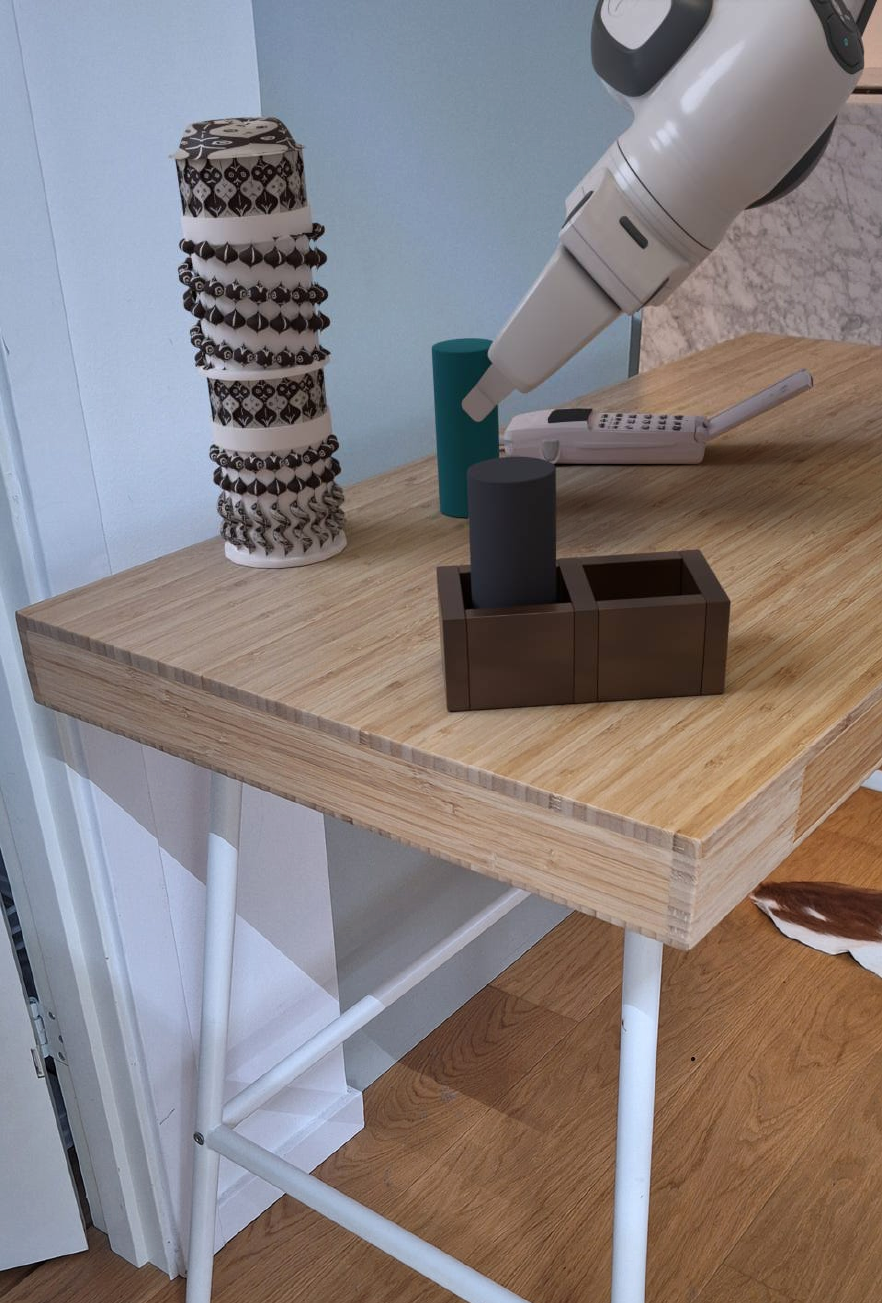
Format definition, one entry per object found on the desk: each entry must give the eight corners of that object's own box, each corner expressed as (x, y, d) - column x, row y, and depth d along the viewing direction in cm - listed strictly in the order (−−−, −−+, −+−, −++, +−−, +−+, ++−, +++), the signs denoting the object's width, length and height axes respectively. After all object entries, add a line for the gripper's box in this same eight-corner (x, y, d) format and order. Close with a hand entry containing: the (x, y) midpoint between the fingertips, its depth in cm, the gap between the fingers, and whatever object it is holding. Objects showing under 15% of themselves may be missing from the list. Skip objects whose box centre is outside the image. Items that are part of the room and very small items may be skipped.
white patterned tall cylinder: (371, 555, 90) (334, 117, 76) (236, 579, 88) (171, 131, 73) (332, 518, 97) (292, 110, 83) (206, 538, 95) (142, 123, 80)
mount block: (694, 636, 76) (700, 548, 73) (724, 693, 70) (731, 600, 67) (440, 652, 76) (436, 566, 73) (447, 712, 70) (442, 619, 67)
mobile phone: (815, 384, 98) (476, 386, 102) (806, 468, 101) (478, 466, 106) (811, 366, 103) (488, 369, 107) (803, 447, 106) (489, 446, 110)
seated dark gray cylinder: (551, 657, 75) (550, 453, 68) (560, 690, 71) (560, 478, 65) (472, 662, 75) (464, 459, 68) (477, 696, 71) (469, 484, 65)
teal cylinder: (498, 497, 99) (494, 336, 93) (503, 515, 96) (498, 349, 89) (438, 501, 99) (430, 340, 93) (441, 519, 96) (432, 353, 89)
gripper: (620, 172, 92) (485, 327, 100) (571, 217, 76) (415, 396, 84) (682, 244, 94) (545, 390, 102) (647, 302, 78) (487, 470, 86)
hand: (486, 394), depth 93 cm, fingers open, 8 cm apart
